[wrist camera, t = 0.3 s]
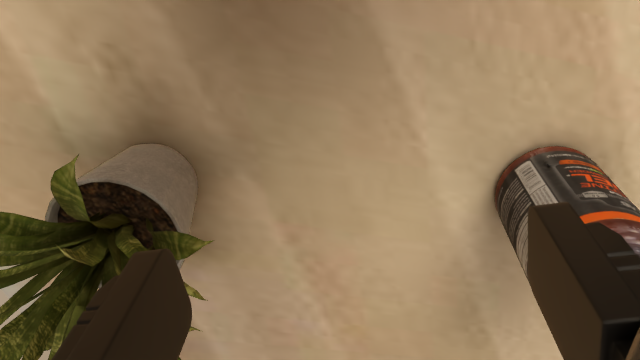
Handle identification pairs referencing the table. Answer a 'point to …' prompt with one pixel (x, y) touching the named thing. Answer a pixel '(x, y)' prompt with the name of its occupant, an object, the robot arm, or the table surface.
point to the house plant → (92, 240)
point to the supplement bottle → (562, 195)
